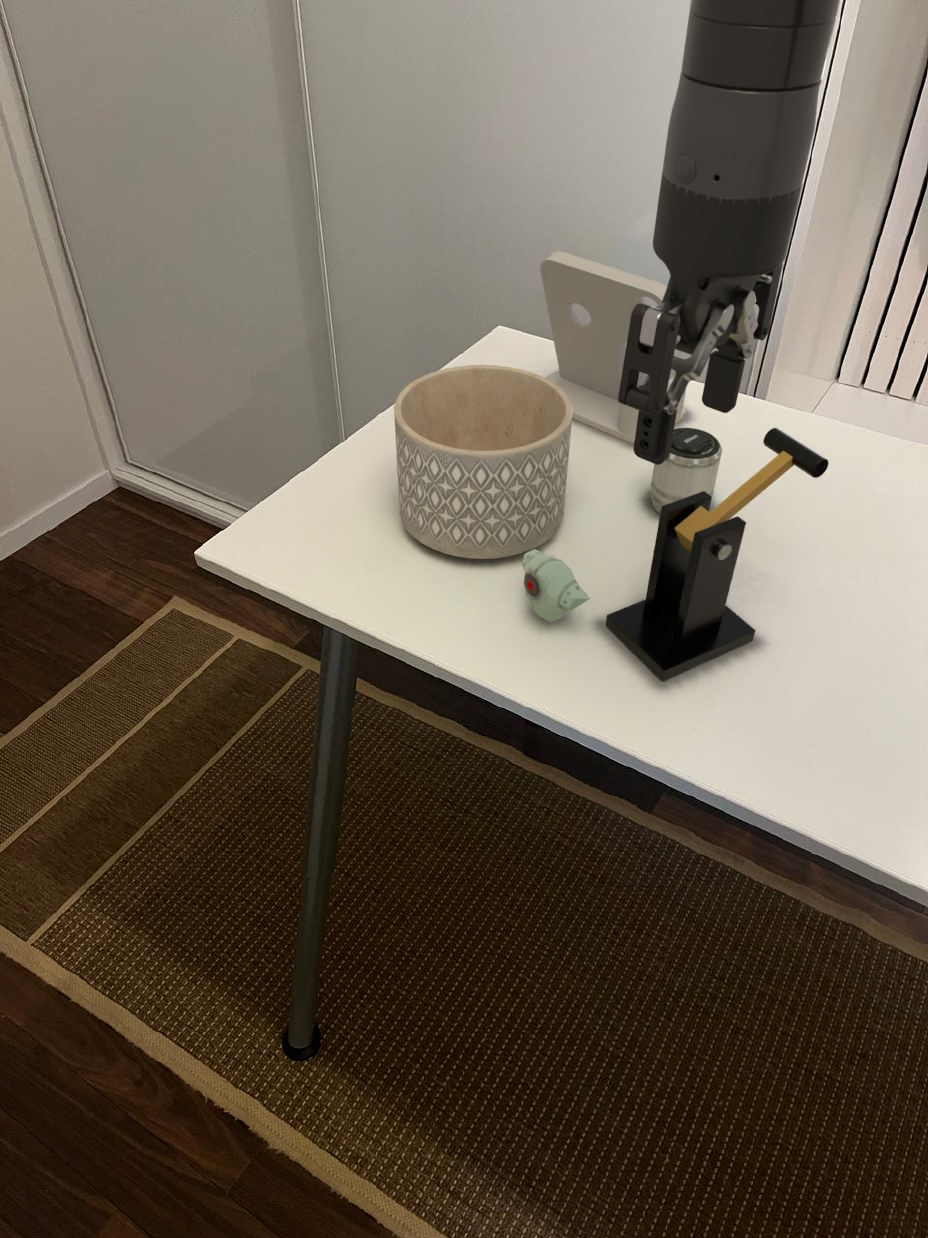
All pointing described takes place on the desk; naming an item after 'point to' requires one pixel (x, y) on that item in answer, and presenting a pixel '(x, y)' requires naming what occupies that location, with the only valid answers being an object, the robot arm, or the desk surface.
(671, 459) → the camera lens
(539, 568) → the mint green rounded piece
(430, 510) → the planter
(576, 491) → the desk surface
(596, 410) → the phone holder
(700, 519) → the lever
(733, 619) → the pivoting lever stand
